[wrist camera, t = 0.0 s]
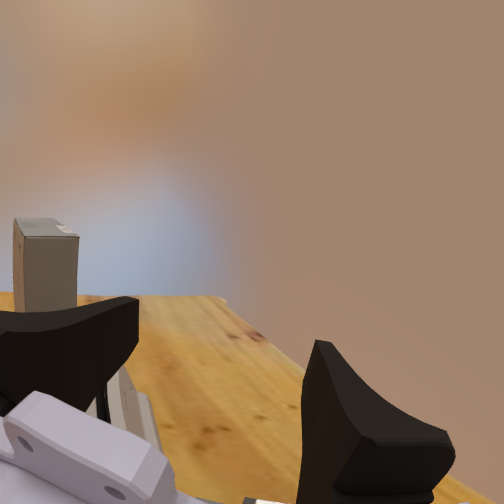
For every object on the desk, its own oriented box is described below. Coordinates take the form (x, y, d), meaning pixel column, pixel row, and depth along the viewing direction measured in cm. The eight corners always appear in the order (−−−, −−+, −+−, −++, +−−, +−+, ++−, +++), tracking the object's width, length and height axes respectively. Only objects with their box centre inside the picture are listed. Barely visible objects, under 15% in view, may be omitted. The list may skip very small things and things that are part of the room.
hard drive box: (82, 378, 37) (81, 236, 34) (33, 386, 31) (21, 236, 28) (54, 329, 47) (55, 216, 44) (16, 333, 41) (12, 215, 38)
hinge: (179, 505, 22) (139, 445, 19) (134, 515, 20) (82, 457, 17) (150, 402, 37) (124, 339, 34) (118, 410, 35) (88, 349, 32)
